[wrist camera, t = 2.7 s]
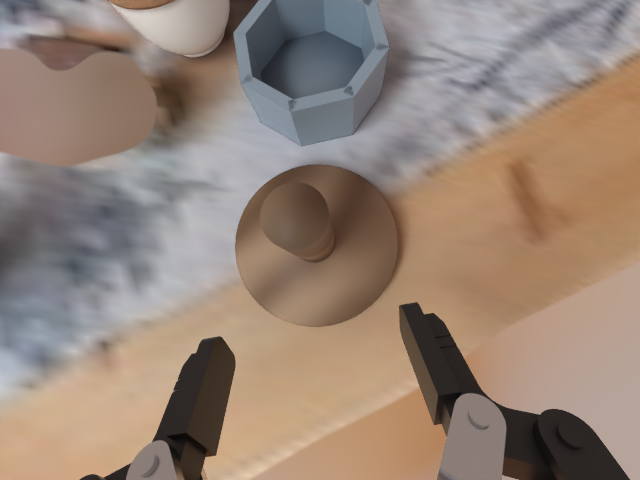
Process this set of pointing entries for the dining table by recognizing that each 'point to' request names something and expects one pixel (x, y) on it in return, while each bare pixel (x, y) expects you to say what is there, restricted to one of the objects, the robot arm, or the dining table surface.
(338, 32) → the ceramic bowl
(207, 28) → the lidded jar
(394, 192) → the dining table surface
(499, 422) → the robot arm
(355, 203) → the walnut lid
